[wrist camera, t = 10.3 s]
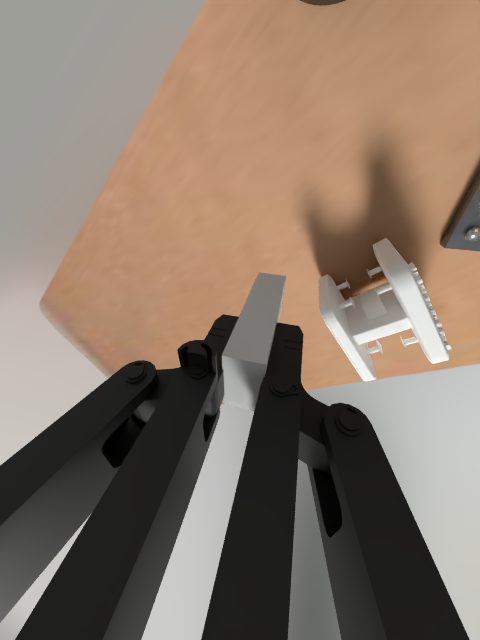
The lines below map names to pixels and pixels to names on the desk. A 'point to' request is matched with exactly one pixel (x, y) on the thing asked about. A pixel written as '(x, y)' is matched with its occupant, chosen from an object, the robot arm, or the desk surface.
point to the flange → (466, 222)
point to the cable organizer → (382, 312)
